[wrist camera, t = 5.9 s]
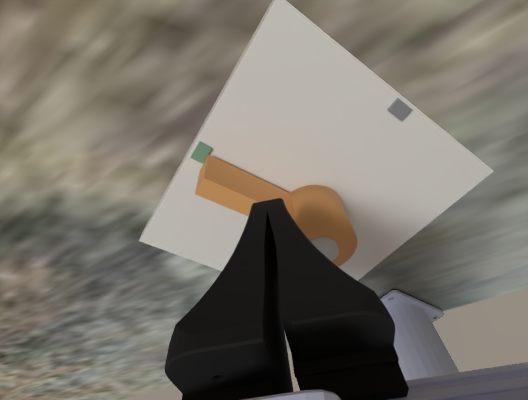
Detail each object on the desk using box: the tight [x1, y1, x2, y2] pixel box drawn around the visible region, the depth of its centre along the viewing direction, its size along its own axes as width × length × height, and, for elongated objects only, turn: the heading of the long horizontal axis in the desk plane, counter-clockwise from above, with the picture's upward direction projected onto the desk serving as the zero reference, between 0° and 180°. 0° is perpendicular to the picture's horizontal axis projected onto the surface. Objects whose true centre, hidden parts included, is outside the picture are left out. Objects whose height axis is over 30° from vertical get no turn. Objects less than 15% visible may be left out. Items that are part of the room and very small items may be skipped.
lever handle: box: [195, 155, 357, 267], centre depth 18 cm, size 10×4×4 cm, turn 59°
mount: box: [139, 0, 493, 281], centre depth 21 cm, size 18×18×1 cm
